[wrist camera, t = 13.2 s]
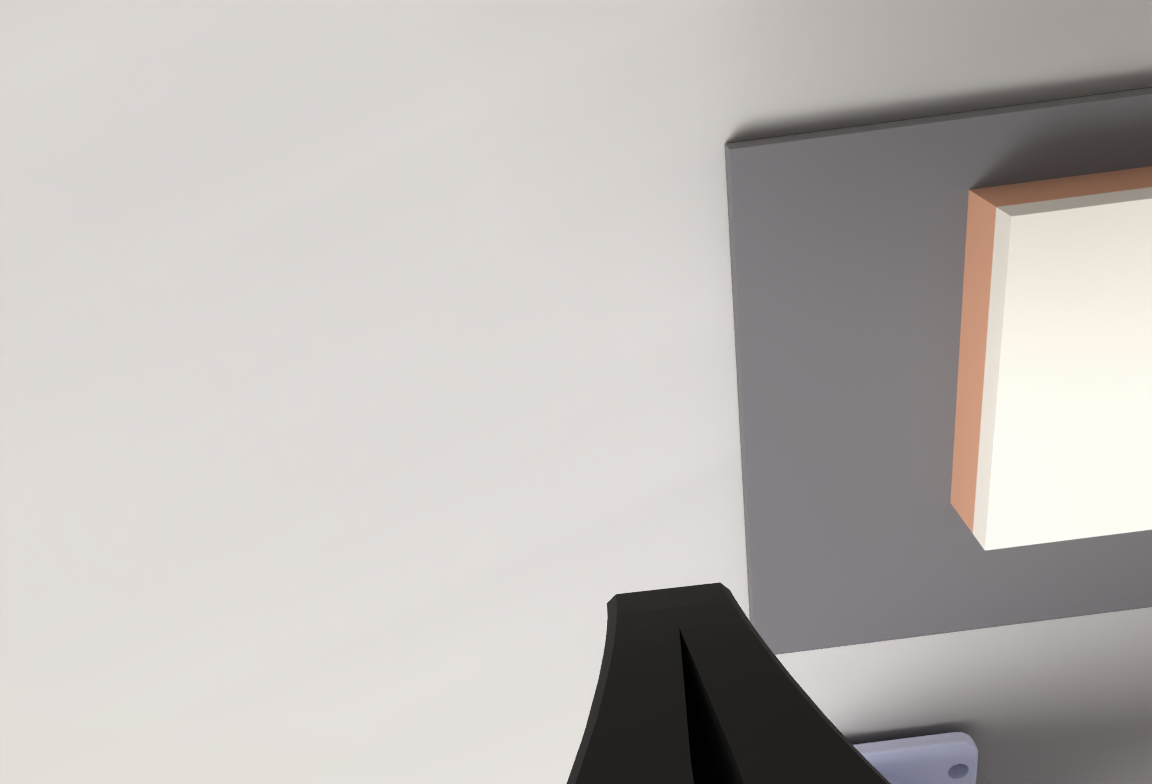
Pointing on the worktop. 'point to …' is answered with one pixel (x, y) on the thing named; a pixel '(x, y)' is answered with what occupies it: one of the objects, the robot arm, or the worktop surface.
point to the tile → (1056, 361)
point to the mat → (892, 374)
